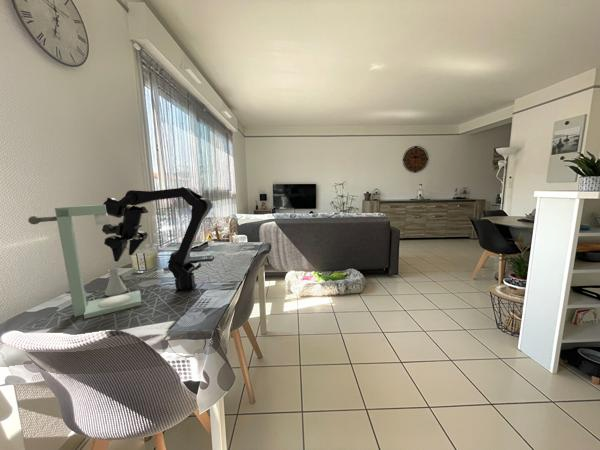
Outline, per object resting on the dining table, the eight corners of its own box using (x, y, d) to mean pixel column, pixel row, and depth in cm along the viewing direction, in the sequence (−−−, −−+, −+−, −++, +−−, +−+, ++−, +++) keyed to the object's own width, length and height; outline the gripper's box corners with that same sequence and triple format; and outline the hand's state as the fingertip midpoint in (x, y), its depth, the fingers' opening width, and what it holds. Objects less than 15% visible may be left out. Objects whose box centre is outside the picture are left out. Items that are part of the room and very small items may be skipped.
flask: (116, 297, 100) (112, 272, 99) (100, 296, 102) (97, 272, 100) (131, 289, 107) (128, 266, 106) (117, 289, 109) (113, 266, 107)
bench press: (140, 294, 102) (127, 202, 97) (141, 304, 92) (127, 204, 87) (53, 313, 88) (32, 208, 83) (43, 328, 78) (19, 210, 73)
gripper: (125, 213, 109) (117, 247, 111) (92, 218, 90) (84, 259, 92) (151, 220, 110) (143, 254, 112) (125, 227, 92) (116, 267, 94)
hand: (123, 258), depth 102 cm, fingers open, 9 cm apart
